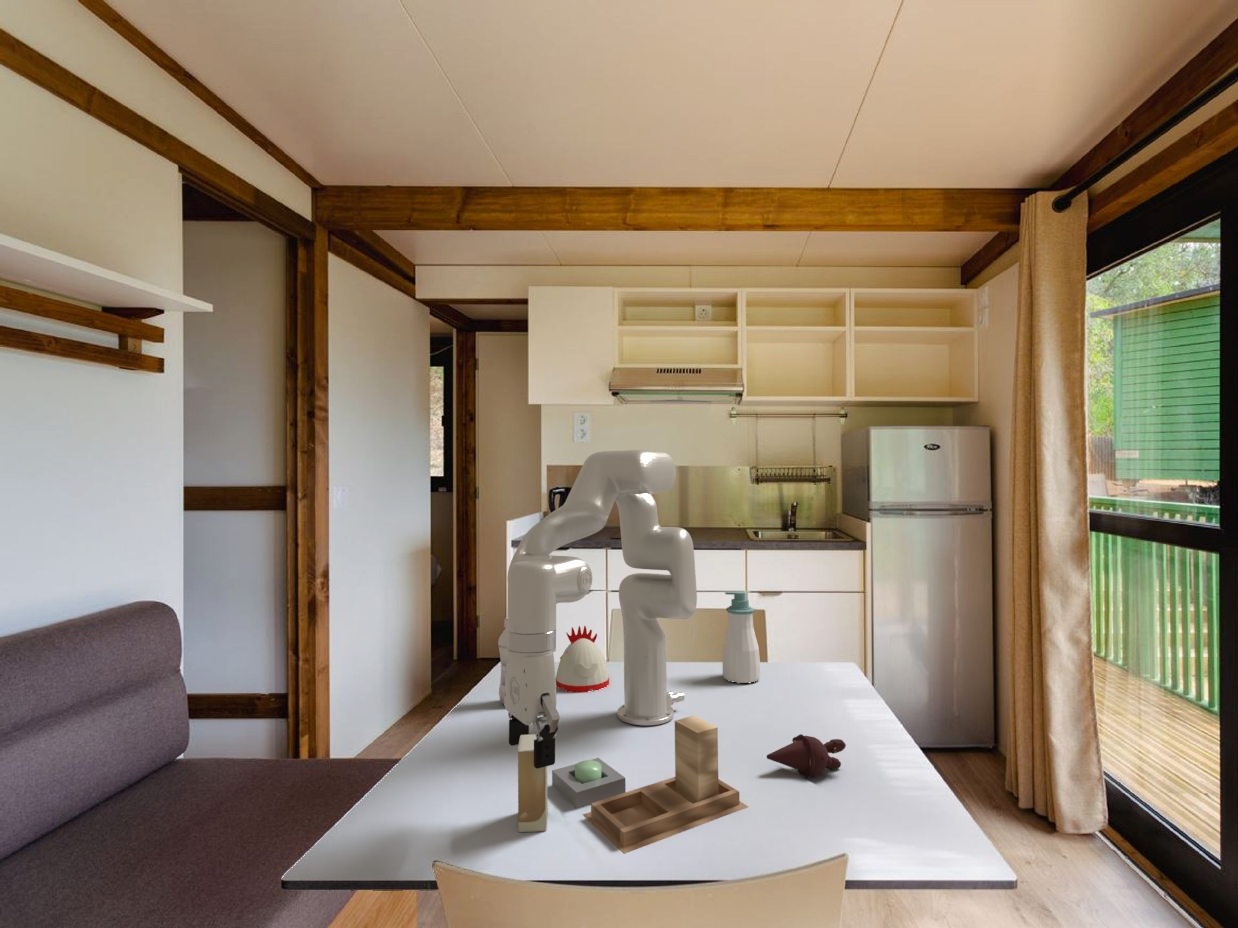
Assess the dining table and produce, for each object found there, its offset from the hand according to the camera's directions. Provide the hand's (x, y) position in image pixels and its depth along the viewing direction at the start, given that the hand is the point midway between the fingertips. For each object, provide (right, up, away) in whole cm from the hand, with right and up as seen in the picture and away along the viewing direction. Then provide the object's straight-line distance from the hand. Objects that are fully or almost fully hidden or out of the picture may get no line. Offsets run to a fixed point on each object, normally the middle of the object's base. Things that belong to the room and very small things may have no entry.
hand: (531, 754), depth 95 cm
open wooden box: (+21, -10, +1) cm, 23 cm away
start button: (+8, -9, +8) cm, 15 cm away
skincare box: (0, -11, 0) cm, 11 cm away
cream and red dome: (+4, -13, +67) cm, 68 cm away
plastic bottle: (-12, -13, +52) cm, 55 cm away
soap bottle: (+46, -13, +69) cm, 84 cm away
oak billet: (+26, -9, +4) cm, 28 cm away
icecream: (+47, -11, +15) cm, 50 cm away
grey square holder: (+8, -11, +8) cm, 16 cm away
